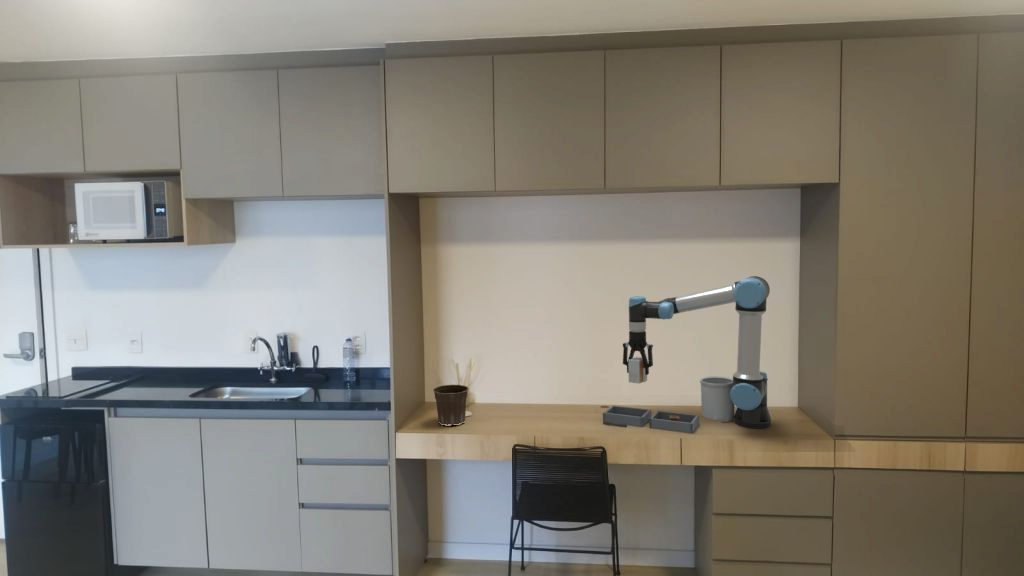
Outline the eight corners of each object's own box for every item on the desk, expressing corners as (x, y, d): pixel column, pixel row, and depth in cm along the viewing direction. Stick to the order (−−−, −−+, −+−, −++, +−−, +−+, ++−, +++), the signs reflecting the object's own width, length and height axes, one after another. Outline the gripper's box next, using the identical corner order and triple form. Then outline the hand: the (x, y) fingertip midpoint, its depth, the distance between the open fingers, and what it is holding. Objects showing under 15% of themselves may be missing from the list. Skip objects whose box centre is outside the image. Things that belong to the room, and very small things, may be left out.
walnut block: (679, 424, 253) (679, 415, 253) (679, 427, 249) (679, 418, 249) (669, 424, 254) (669, 415, 254) (669, 427, 250) (669, 418, 250)
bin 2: (699, 426, 253) (698, 415, 252) (692, 435, 242) (692, 423, 241) (657, 421, 262) (657, 410, 261) (649, 430, 250) (649, 418, 250)
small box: (639, 384, 261) (639, 360, 260) (628, 382, 265) (627, 359, 264) (647, 380, 267) (647, 357, 267) (636, 378, 271) (636, 356, 270)
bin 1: (651, 420, 263) (650, 409, 263) (642, 429, 252) (642, 417, 251) (612, 415, 272) (612, 405, 271) (603, 424, 261) (602, 413, 260)
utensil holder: (700, 421, 259) (700, 383, 258) (700, 412, 273) (699, 375, 272) (736, 423, 255) (736, 384, 253) (733, 413, 269) (733, 376, 267)
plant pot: (476, 419, 273) (474, 385, 272) (458, 430, 259) (457, 394, 258) (446, 416, 280) (444, 383, 279) (427, 426, 266) (426, 391, 264)
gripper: (660, 330, 262) (660, 381, 264) (620, 328, 272) (620, 376, 274) (655, 333, 256) (655, 385, 258) (614, 330, 266) (615, 380, 268)
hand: (637, 380), depth 266 cm, fingers closed on small box, 6 cm apart
